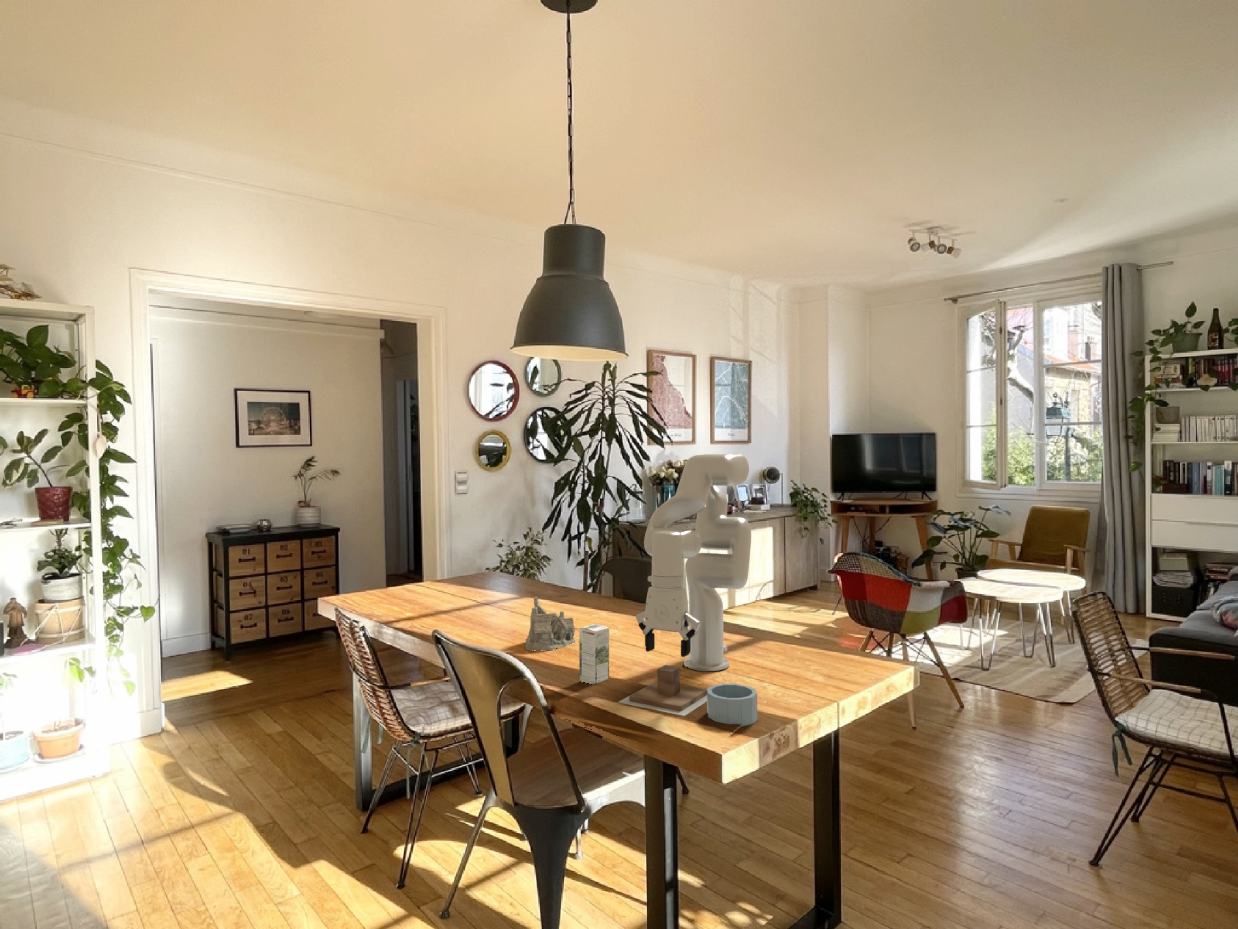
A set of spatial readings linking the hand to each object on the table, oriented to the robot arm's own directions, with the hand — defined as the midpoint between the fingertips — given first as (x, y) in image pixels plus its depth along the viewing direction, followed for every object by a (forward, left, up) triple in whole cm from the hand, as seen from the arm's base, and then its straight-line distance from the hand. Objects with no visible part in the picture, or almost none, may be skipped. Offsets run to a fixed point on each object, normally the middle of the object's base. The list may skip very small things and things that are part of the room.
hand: (667, 653), depth 182 cm
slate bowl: (+2, +18, -12) cm, 21 cm away
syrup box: (-4, -24, -12) cm, 27 cm away
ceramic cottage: (-28, -58, -12) cm, 65 cm away
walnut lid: (-1, 0, -11) cm, 11 cm away
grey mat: (-1, 0, -12) cm, 12 cm away
